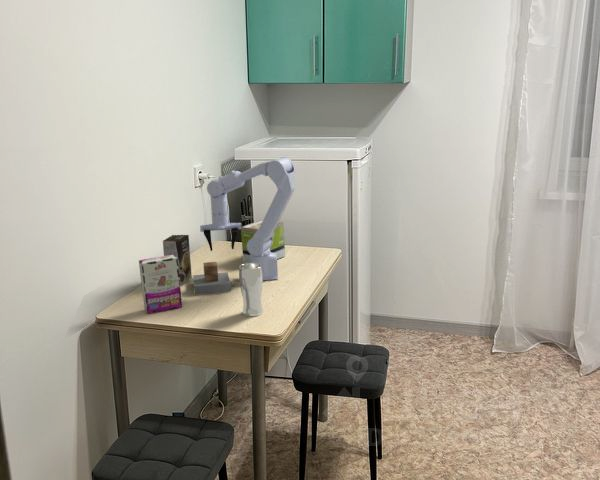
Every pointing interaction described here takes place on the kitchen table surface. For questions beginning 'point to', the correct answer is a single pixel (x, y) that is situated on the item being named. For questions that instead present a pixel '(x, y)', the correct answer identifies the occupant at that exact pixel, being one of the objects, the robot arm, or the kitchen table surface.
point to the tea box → (278, 239)
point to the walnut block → (210, 271)
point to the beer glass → (251, 288)
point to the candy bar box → (160, 283)
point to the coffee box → (179, 254)
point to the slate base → (211, 284)
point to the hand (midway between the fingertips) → (222, 249)
